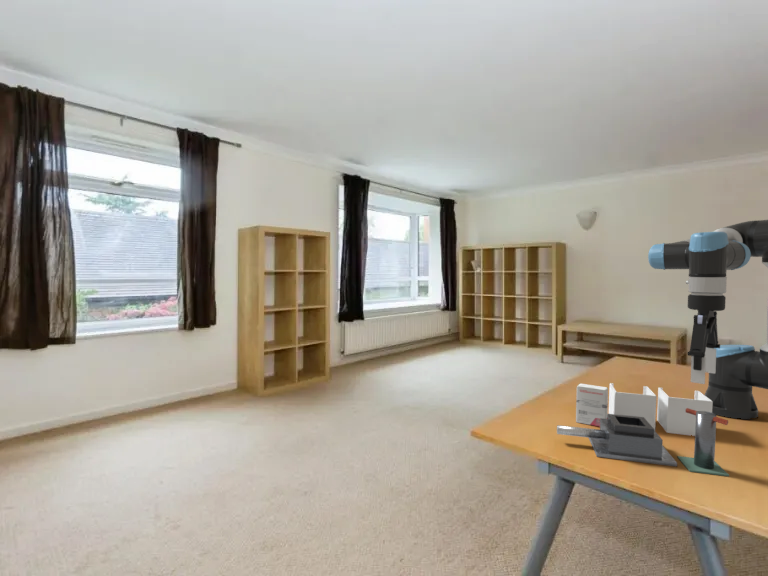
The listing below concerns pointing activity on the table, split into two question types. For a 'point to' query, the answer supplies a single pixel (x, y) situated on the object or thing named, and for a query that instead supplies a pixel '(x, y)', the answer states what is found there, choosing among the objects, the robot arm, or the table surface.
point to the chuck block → (624, 440)
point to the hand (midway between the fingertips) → (703, 377)
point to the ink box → (591, 404)
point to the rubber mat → (690, 465)
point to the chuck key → (705, 437)
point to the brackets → (660, 408)
